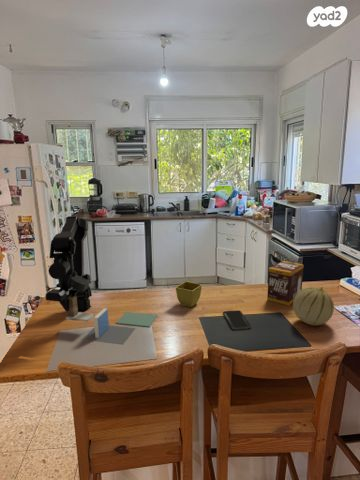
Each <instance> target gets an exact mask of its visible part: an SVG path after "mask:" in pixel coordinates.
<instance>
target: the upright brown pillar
mask: <svg viewBox="0 0 360 480" xmlns="http://www.w3.org/2000/svg"><path fill="white" fill-rule="evenodd" d="M66 313H67V314H66V315H67V316H66V317H65V320H68V321H69V320H70V321H77V322H78V321H79V322H87V323H88V322H89V321H91V319H92V318H94V317H95V313H91V312H90V313H89V312H78V307H77V296H71V297H70V298H69V311H66Z"/></svg>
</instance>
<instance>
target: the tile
mask: <svg viewBox="0 0 360 480" xmlns="http://www.w3.org/2000/svg"><path fill="white" fill-rule="evenodd" d="M93 325H94V327H95V338H100V337H101V336H102V335H103V334H104V332H105V331H106V330H107V329H108V328H109V325H110V324H109V310H108V308H106V307H105V308H102V309H101V310H100V311H99V312H98V313H97V314H96V315H94V316H93Z"/></svg>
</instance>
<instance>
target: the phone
mask: <svg viewBox="0 0 360 480" xmlns="http://www.w3.org/2000/svg"><path fill="white" fill-rule="evenodd" d="M222 315H223V316H224V319H225V318H226V319H225V320H226V322H227V323H228V325H230V326H229V327H230V329H231V330H232V331H239V330H250V329H252V325H251V324H250V322H249V320H248V319H247V318H246V316H245V315H244V313H243V312H242V311H241V310H225V311H223V312H222Z"/></svg>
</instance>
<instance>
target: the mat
mask: <svg viewBox="0 0 360 480" xmlns="http://www.w3.org/2000/svg"><path fill="white" fill-rule="evenodd" d="M136 329H137V328H136V327H127V326H118V325H111V324H109V328H108V329H107V330H106V331H105V332H104V334H103V335H102V336H101V337H100V338H95V326H94V327H93V328H91V330H89V331H88V333H87V334H86V335H85V336H84V337H83V338H82V339H81V340H84V341H90V342H91V341H92V342H99V343H101V342H102V343H106V344H107V343H108V344H116V345H124V344H125V343H126V341H127V340H128V339H129V338H130V337H131V335H132V334H133V333H134V331H135V330H136Z"/></svg>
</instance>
